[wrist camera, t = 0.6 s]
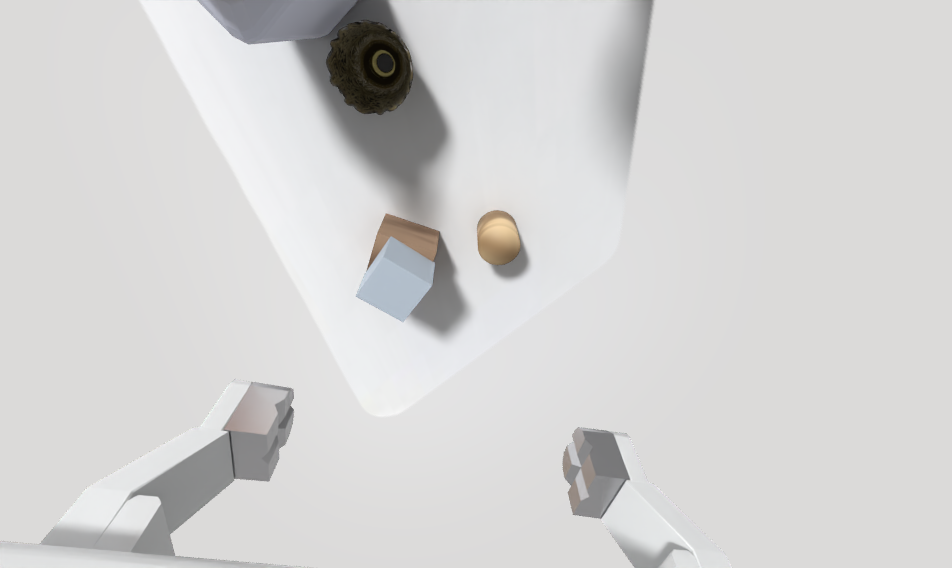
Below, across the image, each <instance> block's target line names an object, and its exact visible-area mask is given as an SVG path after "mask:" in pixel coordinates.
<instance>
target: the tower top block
mask: <svg viewBox="0 0 952 568" xmlns="http://www.w3.org/2000/svg"><path fill="white" fill-rule="evenodd" d="M434 269H435V263H434V262H432V261H431V260H429V259H427V258H426V257H424V256H423V255H421V254H419V253H418V252H416V251H414V250H413V249H411V248H410V247H408V246H406V245H405V244H403V243H401V242H400V241H398V240H396V239H395V238H393V237H392V236H391V237H390V238H389V239H388V241H387V242H386V244H385V245H384V247H383V248H382V250H381V251H380V252H379V254H378V255H377V257H376V258H375V260H374V261H373V263H372V264H371V266H370V267H369V268H368V270H367V271H366V273H365V275H364V277H363V280H362V282H361V285H360V287H359V289H358V292H357V294H356V297H358V298H360V299H361V300H363V301H365V302H367V303H369V304H371V305H372V306H374V307H376V308H378V309H380V310H382V311H383V312H385V313H387V314H389V315H391V316H393V317H394V318H396V319H398V320H400V321H402V322H404V320H405V319H406V318H407V317H408V315H409V314H410V313H411V312H412V310H413V309H414V308H415V307H416V305H417V304H418V303H419V302H420V300H421V299H422V298H423V297H424V295H425V294H426V293H427V292H428V290H429V289H430V288H431V287H432V284H433V276H434Z"/></svg>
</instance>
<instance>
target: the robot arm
mask: <svg viewBox="0 0 952 568" xmlns="http://www.w3.org/2000/svg"><path fill="white" fill-rule="evenodd" d="M293 398H294V392H293V389H292V388H287V387H281V386H275V385H269V384H263V383H256V382H248V381H242V380H236V379H234V380H233V381H232V382H231V383H229V385H228V386H227V388H226V389H225V390H224V392H223V394H222V395H221V396H220V398H219V399H218V401H217V402H216V404H215V406H214V407H213V408H212V410H211V412H210V413H209V414H208V416H207V417H206V419H205V420H204V422H203V423H202V425H201V426H200V427H199V428H198V427H193V428H191V429H189V430H187V431H185V432H184V433H182V434H180V435H178V436H177V437H175V438H173V439H171V440H170V441H168V442H166V443H164V444H163V445H161V446H159V447H158V448H156V449H154V450H152V451H150V452H149V453H147V454H145V455H143V456H141V457H140V458H138V459H137V460H135V461H133V462H131V463H129V464H127V465H126V466H124V467H122V468H120V469H119V470H117V471H115V472H113V473H112V474H110V475H108V476H106V477H105V478H103V479H101V480H99V481H98V482H96V483H94V484H92V485H91V486H89V487H87V488H86V489H85V490H84V492H83V493H82V494H81V495H80V496H79V497H78V499H77V500H76V501H75V502H74V504H73V505H72V506H71V507H70V508H69V510H68V511H67V512H66V513H65V514H64V515H63V517H62V518H61V519H60V520H59V521H58V523H57V524H56V525H55V526H54V527H53V529H52V530H51V531H50V532H49V533H48V535H47V536H46V537H45V538H44V539H43V541H42V542H41V543H40V544H29V543H28V544H27V543H17V542H5V541H0V568H308V567H297V566H286V565H273V564H262V563H249V562H239V561H226V560H214V559H203V558H191V557H180V556H175V553H174V549H173V545H172V542H171V538H170V534H171V533H172V532H173V531H175V530H176V529H177V528H178V527H179V526H181V525H182V524H183V523H184V522H185V521H187V520H188V519H189V518H190V517H191V516H193V515H194V514H195V513H196V512H197V511H199V510H200V509H201V508H202V507H203V506H205V504H207V503H208V502H209V501H210V500H212V499H213V498H214V497H215V496H216V495H217V494H219V493H220V492H221V491H222V490H223V489H225V488H226V487H227V486H228V485H230V484H231V483H232V482H233V481H234V479H246V480H258V481H269V480H270V478H271V476H272V474H273V471H274V469H275V467H276V465H277V462H278V460H279V448H281V447H282V446H284V445H285V444H286V442H287V439H288V437H289V434H290V431H291V427H292V424H293V416H294V409H293V408H292V407H291V406H290V405H291V403H292V401H293ZM573 441H574V442H572V443H571V444H569V445H568V446H567V447H566V449H565V452H564V456H563V472H564V477H565V479H566V480H567V481H568V483H569V484H570V485H571V488H570V490H569V491H568V495H569V499H570V504H571V508H572V512H573V515H579V516H586V517H594V518H600V519H601V521H602V522H603V524H604V525H605V527H606V528H607V530H608V531H609V532H610V534H611V535H612V537H613V538H614V539H615V541H616V542H617V543H618V545H619V546H620V548H621V549H622V550H623V552H624V553H625V555H626V556H627V557H628V559H629V560H630V562H631V563H632V564H633V566H634V567H635V568H732V567H731V565H730V563H729V561H728V559H727V557H726V555H725V553H724V552H723V551H722V550H721V549H720V548H719V547H718V546H717V545H716V544H715V543H714V542H713V541H711V539H710V538H709V537H708V536H707V535H706V534H705V533H703V531H701V530H700V529H699V528H698V527H697V526H696V525H695V524H694V523H693V522H692V521H691V520H690V519H689V518H688V517H687V516H686V515H685V514H684V513H683V512H682V511H681V510H680V509H679V508H678V507H677V506H676V505H675V504H674V503H673V502H672V501H671V500H670V499H669V498H668V497H667V496H666V495H665V494H664V493H663V492H662V491H661V490H660V489H659V488H657V486H655V485H654V484H653V483H649V482H648V480H647V477H646V475H645V473H644V470H643V468H642V465H641V463H640V461H639V458H638V456H637V453H636V451H635V448H634V446H633V444H632V441H631V439H630V437H629V436H628V435H627V434H626V433H618V432H609V431H604V430H596V429H588V428H580V427H578V428H577V429H576V430H575V431H574V433H573Z"/></svg>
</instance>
